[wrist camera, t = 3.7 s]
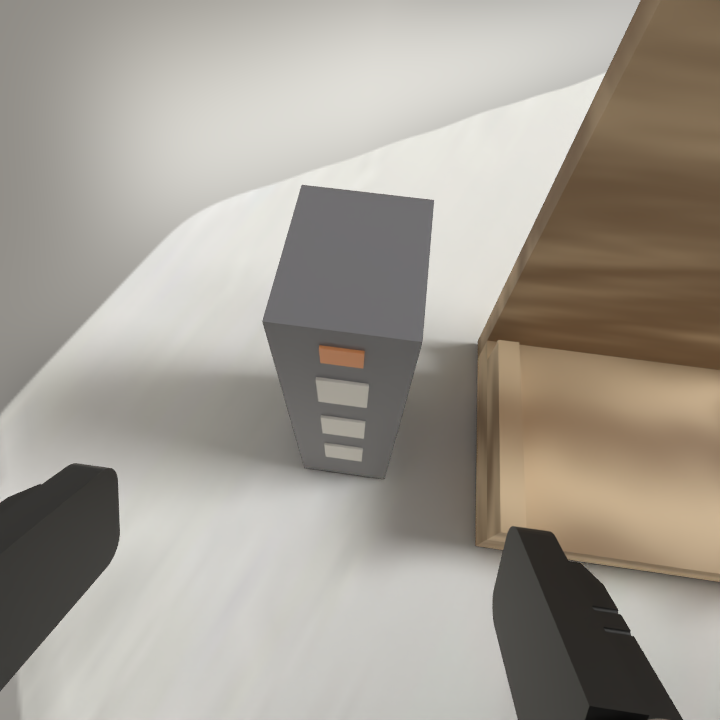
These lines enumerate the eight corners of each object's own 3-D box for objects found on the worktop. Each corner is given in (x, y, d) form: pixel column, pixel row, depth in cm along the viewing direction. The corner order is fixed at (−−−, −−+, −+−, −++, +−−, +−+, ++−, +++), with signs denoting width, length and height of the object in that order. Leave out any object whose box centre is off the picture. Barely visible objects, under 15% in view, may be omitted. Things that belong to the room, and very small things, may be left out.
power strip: (384, 481, 23) (422, 345, 11) (304, 469, 23) (261, 324, 11) (394, 388, 25) (433, 200, 14) (322, 378, 25) (301, 185, 14)
